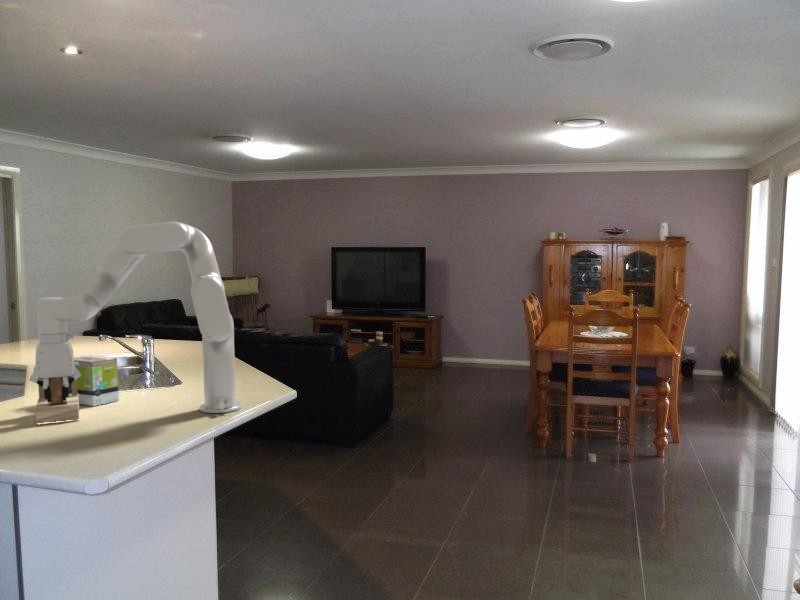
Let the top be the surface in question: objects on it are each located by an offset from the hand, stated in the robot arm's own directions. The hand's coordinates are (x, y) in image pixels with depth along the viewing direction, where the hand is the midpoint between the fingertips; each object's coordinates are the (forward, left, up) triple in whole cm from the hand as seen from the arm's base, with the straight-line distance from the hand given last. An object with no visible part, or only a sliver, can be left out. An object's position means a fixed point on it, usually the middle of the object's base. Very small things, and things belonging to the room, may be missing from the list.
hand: (56, 400), depth 196 cm
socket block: (+4, 0, -6) cm, 7 cm away
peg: (0, 0, -3) cm, 3 cm away
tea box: (+22, -10, -6) cm, 25 cm away
